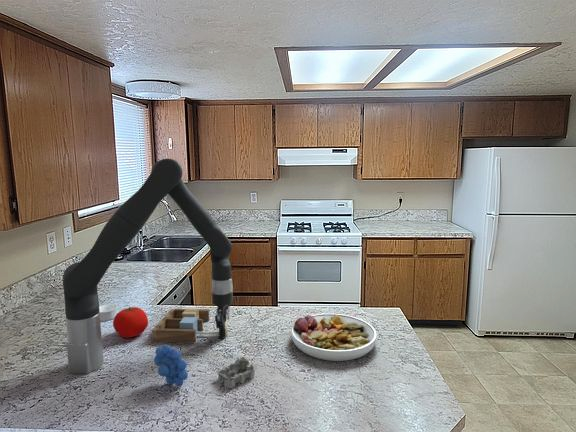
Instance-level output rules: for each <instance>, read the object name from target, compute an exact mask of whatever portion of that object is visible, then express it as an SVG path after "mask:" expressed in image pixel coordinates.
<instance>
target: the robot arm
mask: <svg viewBox="0 0 576 432" xmlns="http://www.w3.org/2000/svg"><path fill="white" fill-rule="evenodd" d="M150 172H151V173H150V174H149V175H148V177H147V179H146V180H145V181H144V183H143V184H142V185H141V186H140V188H139V189H138V190H137V191H136V192H134V194H132V195H131V196H130V197H129V198H128V199H127V200H126V201H125V202H123V204H121V205H120V207H118V209H117V210H116V211H115V212H114V213H113V215H112V216H111V217H110V218H109V219H108V220H107V222H106V224H105V225H104V226H103V228H102V229H101V232H100V233H99V235H98V237H97V239H96V241H95V242H94V244H93V245H92V247H91V249H90V250H89V251H88V253H87V254H86V255H85V256H84V257H83V258H82V259H81V261H79V262H74V263H72V264H70V265H68V266H67V267H66V269H65V270H64V271H63V274H62V286H63V296H64V309H65V310H64V312H65V320H66V332H67V342H68V343H67V344H66V350H67V360H68V361H67V362H68V371H69V372H68V373H69V374H80V375H81V374H84V375H88V374H89V375H90V373H91V372H94V371H96V370H98V369H99V368H101V367H102V366H103V365H104V352H103V350H104V349H103V341H102V329H101V326H102V325H101V321H100V312H99V306H100V303H99V301H100V300H99V292H98V286H99V285H98V284H99V283H100V282H101V280H102V279H103V277H104V275H105V274H106V272H107V271H108V269H109V268H110V267H111V265H112V263H114V261H115V260H116V259H117V258H118V257H119V256H120V255H121V254H122V252H123V251H124V250H125V249H126V248H127V246H129V244H130V243H131V242H132V241H133V240H134V239H135V237H136V236H137V234H138V233H140V231H141V230H142V229H143V227H144V226H145V225H146V223H147V221H149V219H150V217H151V216H152V214H153V212H154V211H155V210H156V209H157V206H158V205H159V204H160V202H161V201H162V200H163V199H164V198H165V197H166V196H167V195H169V196H170V198H171V199H172V200H173V201H174V203H176V205H177V206H178V207H179V208H180V210H181V211H182V212H183V214H184V215H185V217H186V218H187V220H188V221H189V223H191V225H192V227H193V228H194V230H195V231H196V232H197V233H198V234H199V236H201V237H202V238H203V239H204V241H205V242H206V244H207V245H208V247H209V252H210V253H209V254H210V259H211V260H210V261H211V303H212V304H213V306H217V308H216V310H215V312H216V313H215V314H216V315H215V316H214V319H215V325H216V329H218V332H219V335H218V337H219V338H220V339H221V338H222V339H224V337H225V336H226V335H225V327H226V326H225V322H226V321H227V332H229V331H228V323H229V320H230V307H231V304H232V303H233V302H234V296H233V295H234V294H233V291H234V290H233V289H234V288H233V278H232V275H233V274H232V272H233V271H232V264H231V262H230V255H231V253H232V251H233V244H232V242H231V240H230V239H229V238H228V236H227V235H226V233H224V231H222V229H221V228H220V227H219V226H218V224H217V222H216V220H215V219H214V218H213V216H212V215H211V213H210V212H209V211H208V210H207V209H206V207H205V206H204V205H203V204H202V203H201V202H200V200H198V199H197V198H196V197H195V195H194V194H193V193H192V192H191V191H190V189H189V188H188V187H187V185H186V183H185V182H184V180H183V178H182V177H183V168H182V165H181V164H180V163H179V161H177V160H176V159H173V158H163V159H160V160H158V161H156V162H155V163H154V164H153V165H152V168H151V171H150ZM220 324H221V325H220Z"/></svg>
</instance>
